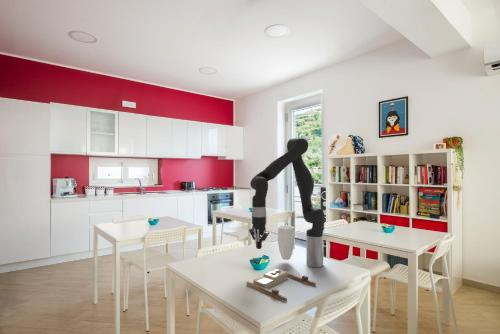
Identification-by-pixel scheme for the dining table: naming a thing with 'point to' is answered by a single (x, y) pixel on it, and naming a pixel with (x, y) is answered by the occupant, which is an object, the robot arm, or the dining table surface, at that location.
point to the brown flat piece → (276, 292)
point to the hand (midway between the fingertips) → (258, 248)
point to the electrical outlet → (271, 278)
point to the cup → (286, 241)
